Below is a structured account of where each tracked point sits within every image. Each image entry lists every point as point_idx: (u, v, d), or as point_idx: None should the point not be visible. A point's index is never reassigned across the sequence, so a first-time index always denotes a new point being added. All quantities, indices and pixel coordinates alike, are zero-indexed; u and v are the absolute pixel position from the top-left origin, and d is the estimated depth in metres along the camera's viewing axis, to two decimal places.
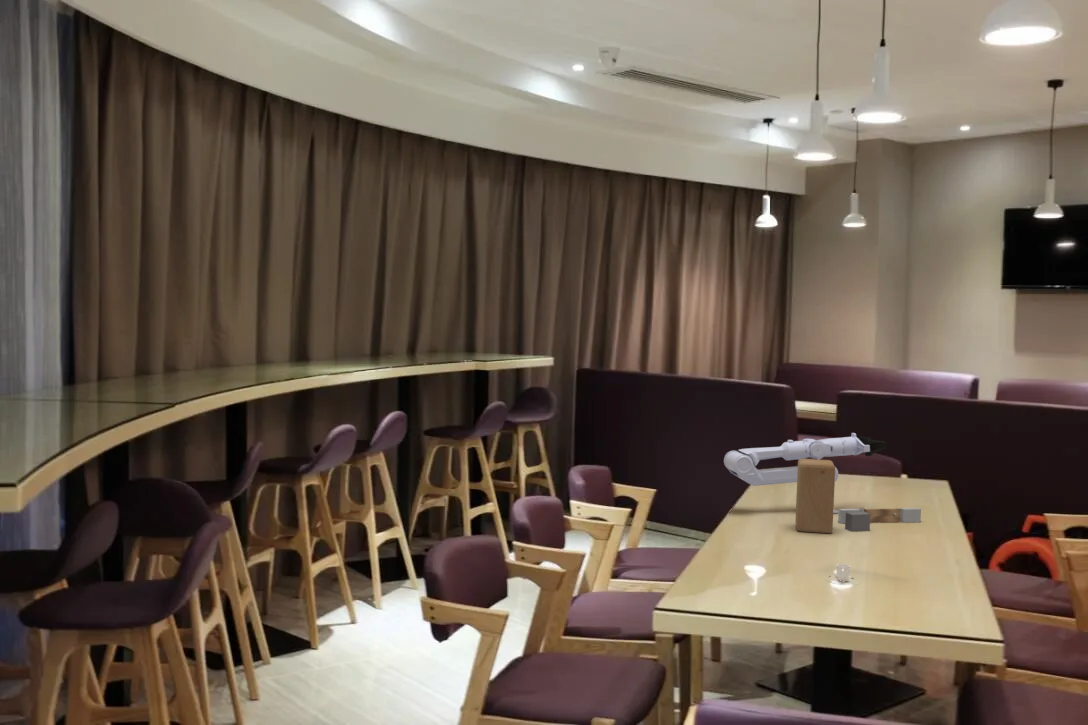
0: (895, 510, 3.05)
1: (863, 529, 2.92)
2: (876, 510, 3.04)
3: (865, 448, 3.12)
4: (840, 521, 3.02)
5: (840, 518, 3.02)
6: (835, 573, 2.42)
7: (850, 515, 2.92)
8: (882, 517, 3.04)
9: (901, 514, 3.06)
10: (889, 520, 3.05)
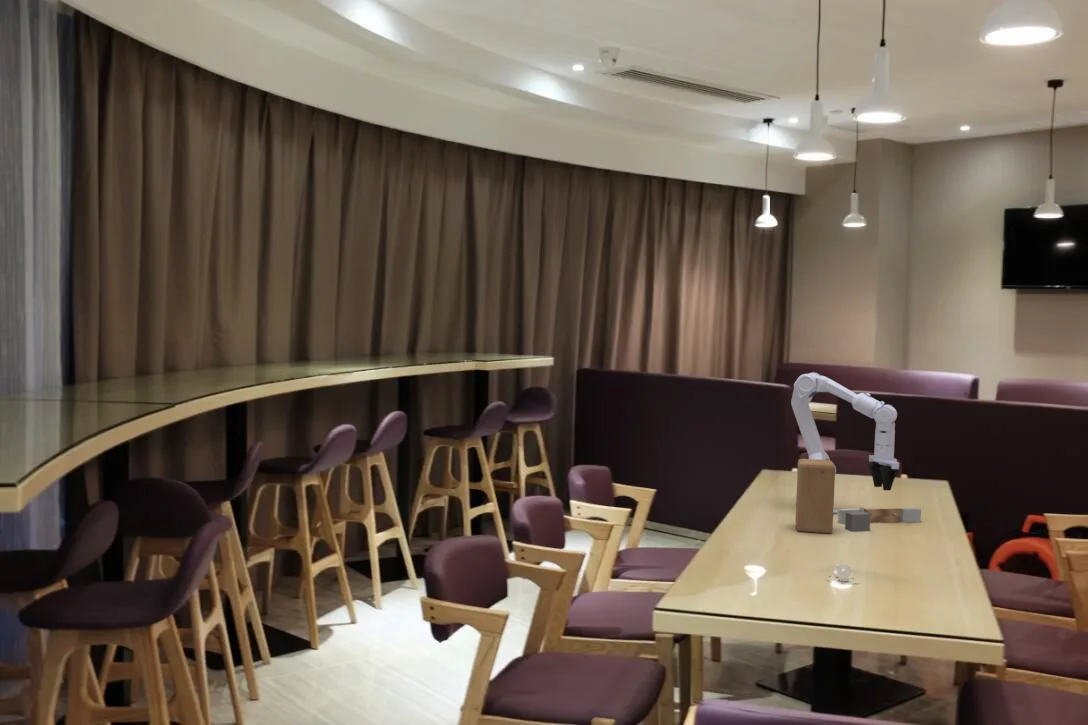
0: (895, 510, 3.05)
1: (863, 529, 2.92)
2: (876, 510, 3.04)
3: (896, 464, 3.02)
4: (840, 521, 3.02)
5: (840, 518, 3.02)
6: (835, 573, 2.42)
7: (850, 515, 2.92)
8: (882, 517, 3.04)
9: (901, 514, 3.06)
10: (889, 520, 3.05)
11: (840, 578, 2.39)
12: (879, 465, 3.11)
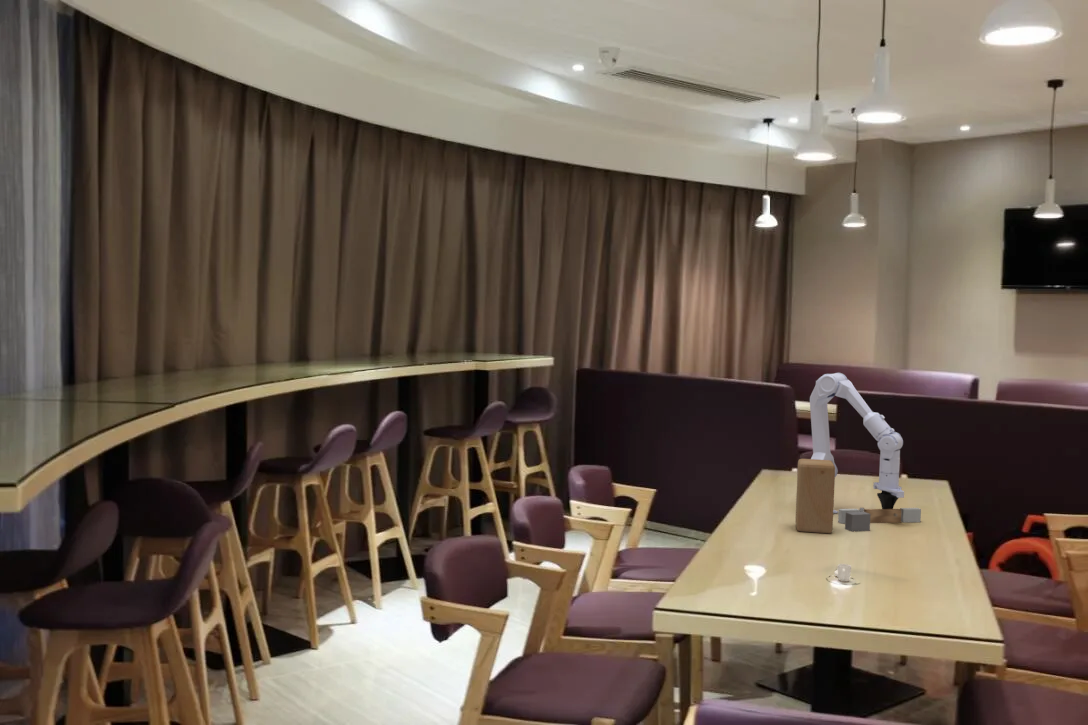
0: (896, 511, 3.05)
1: (863, 529, 2.92)
2: (876, 510, 3.04)
3: (901, 492, 2.99)
4: (840, 521, 3.02)
5: (840, 518, 3.02)
6: (836, 573, 2.42)
7: (850, 515, 2.92)
8: (882, 517, 3.04)
9: (901, 514, 3.06)
10: (890, 520, 3.05)
11: (841, 578, 2.39)
12: None
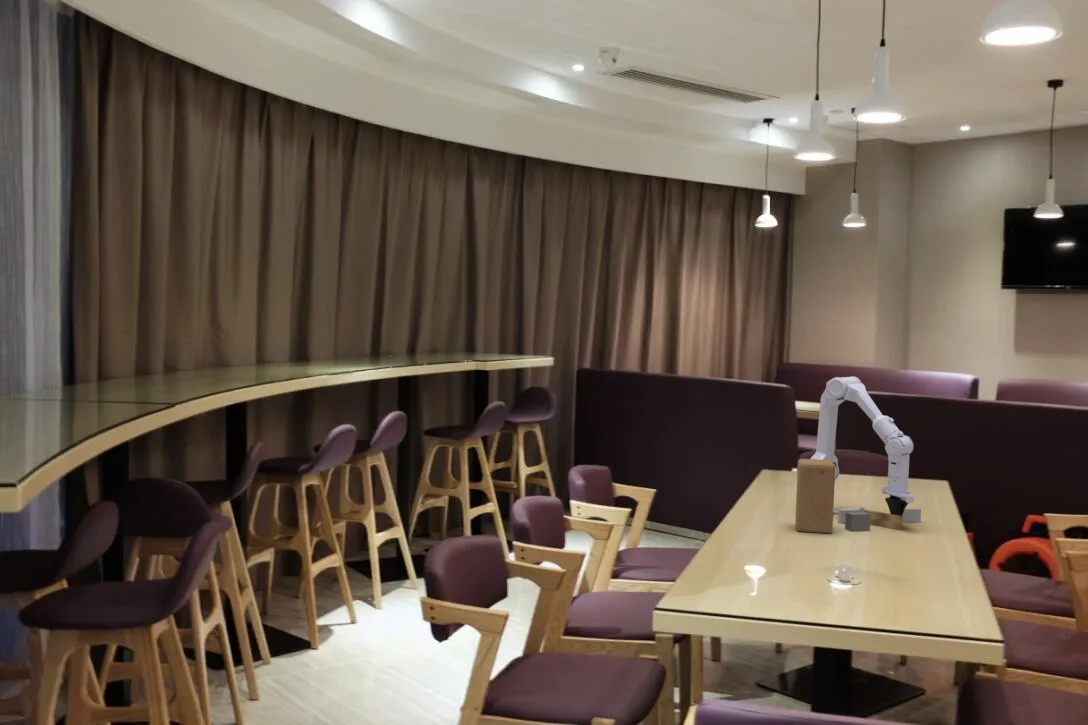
0: (895, 517, 2.96)
1: (863, 529, 2.92)
2: (875, 513, 3.00)
3: (911, 497, 2.91)
4: (840, 521, 3.02)
5: (840, 518, 3.02)
6: (836, 573, 2.42)
7: (850, 515, 2.92)
8: (881, 521, 2.99)
9: None
10: (889, 526, 2.97)
11: (841, 578, 2.39)
12: None
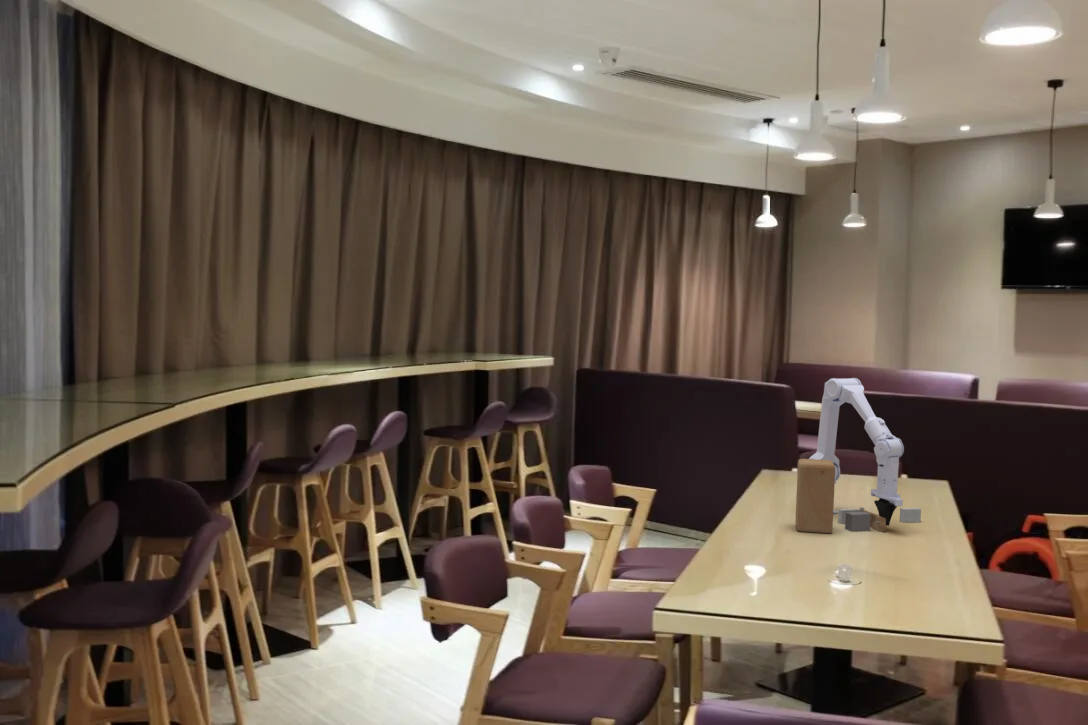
0: (879, 519, 2.93)
1: (863, 529, 2.92)
2: None
3: (900, 500, 2.87)
4: (840, 521, 3.02)
5: (840, 518, 3.02)
6: (837, 573, 2.42)
7: (850, 515, 2.92)
8: (871, 522, 2.97)
9: (901, 514, 3.06)
10: (875, 527, 2.95)
11: (841, 578, 2.39)
12: None
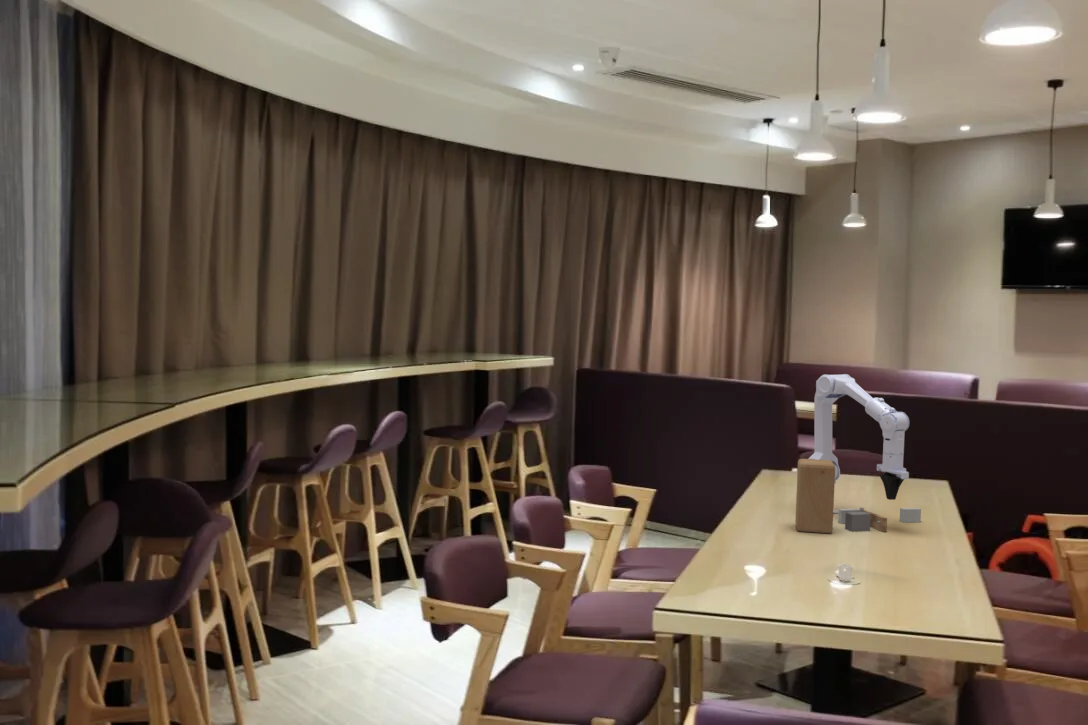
0: (880, 519, 2.93)
1: (863, 529, 2.92)
2: None
3: (906, 474, 2.88)
4: (840, 521, 3.02)
5: (840, 518, 3.02)
6: (837, 573, 2.42)
7: (850, 515, 2.92)
8: (872, 522, 2.97)
9: (901, 514, 3.06)
10: (876, 527, 2.95)
11: (842, 578, 2.39)
12: None
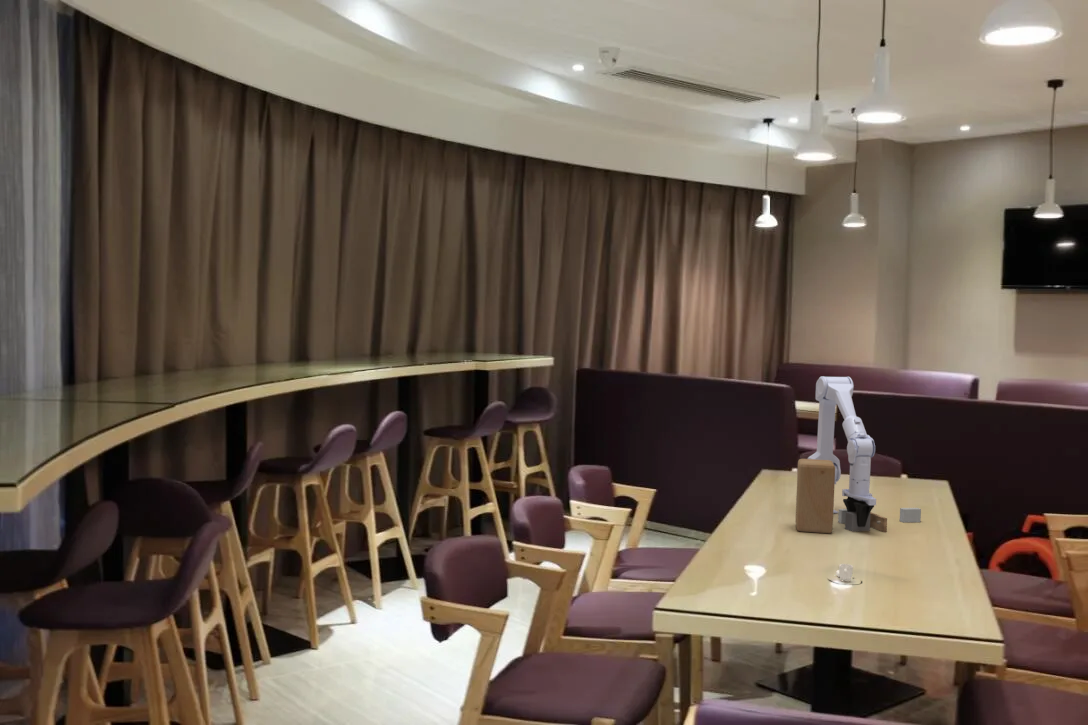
0: (880, 519, 2.93)
1: (863, 529, 2.92)
2: None
3: (873, 500, 2.86)
4: (840, 521, 3.02)
5: (840, 518, 3.02)
6: (838, 573, 2.42)
7: (850, 515, 2.92)
8: (872, 522, 2.97)
9: (901, 514, 3.06)
10: (876, 527, 2.95)
11: (842, 578, 2.39)
12: (855, 500, 2.95)
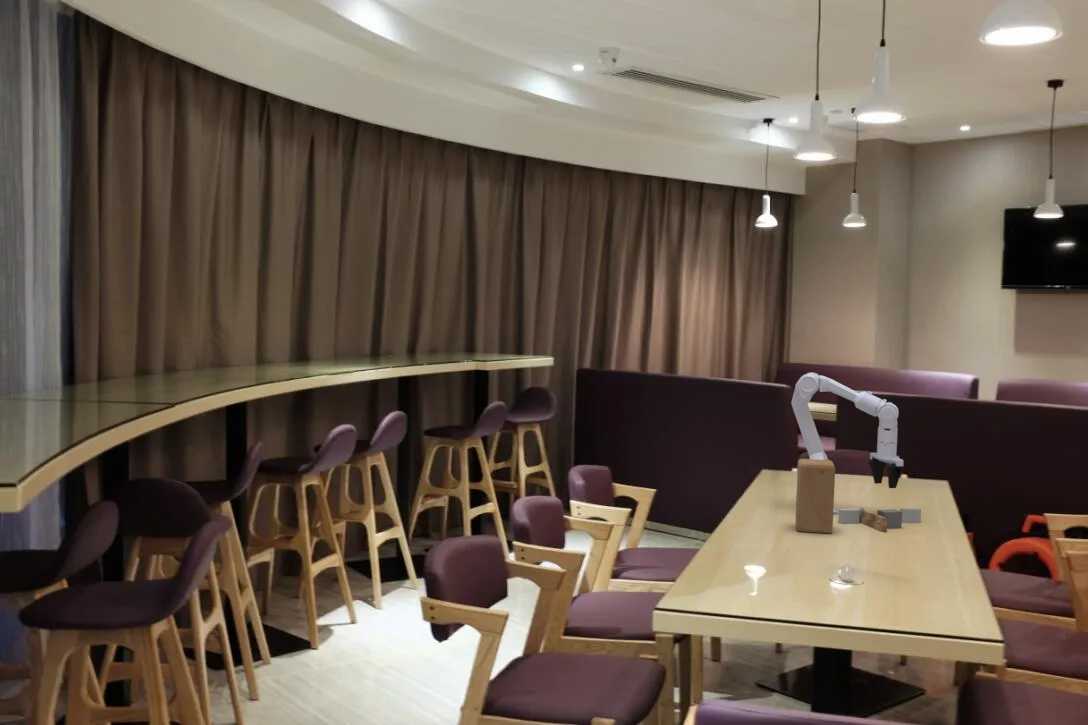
0: (880, 519, 2.93)
1: (895, 526, 2.97)
2: (868, 513, 2.99)
3: (901, 461, 3.04)
4: (840, 521, 3.02)
5: (840, 518, 3.02)
6: (839, 573, 2.42)
7: (882, 513, 2.97)
8: (872, 522, 2.97)
9: None
10: (876, 527, 2.95)
11: (844, 578, 2.39)
12: (879, 462, 3.15)
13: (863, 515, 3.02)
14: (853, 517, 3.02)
